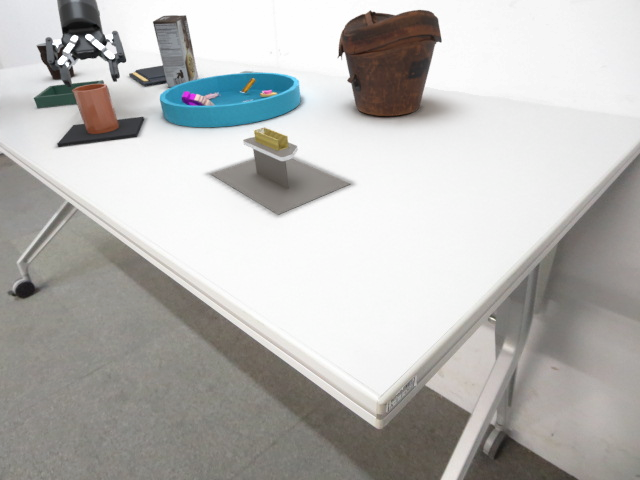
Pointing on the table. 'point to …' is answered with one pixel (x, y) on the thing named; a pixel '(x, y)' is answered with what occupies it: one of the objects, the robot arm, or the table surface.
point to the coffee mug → (44, 58)
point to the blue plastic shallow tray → (230, 99)
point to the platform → (277, 174)
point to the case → (389, 59)
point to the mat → (81, 136)
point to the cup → (96, 108)
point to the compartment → (59, 95)
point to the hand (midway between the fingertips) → (91, 82)
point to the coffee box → (175, 49)
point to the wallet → (150, 76)
